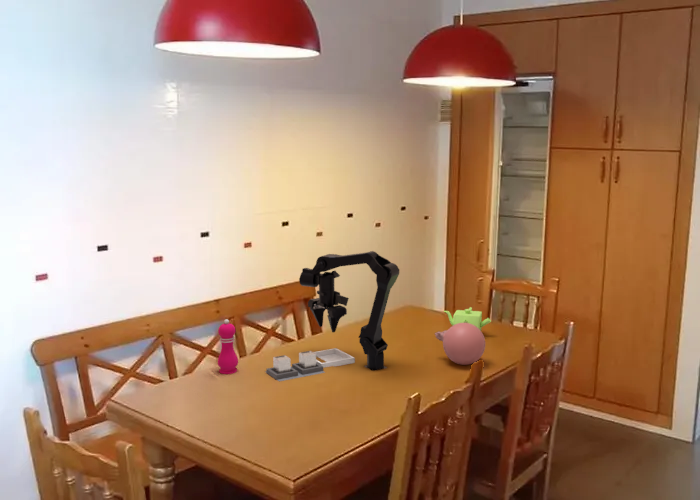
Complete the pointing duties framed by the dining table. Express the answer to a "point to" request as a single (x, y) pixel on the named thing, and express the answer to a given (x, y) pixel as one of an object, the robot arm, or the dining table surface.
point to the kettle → (468, 318)
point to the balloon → (462, 343)
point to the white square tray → (334, 357)
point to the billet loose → (307, 359)
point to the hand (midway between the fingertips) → (327, 329)
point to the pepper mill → (227, 349)
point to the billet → (281, 364)
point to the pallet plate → (295, 372)
